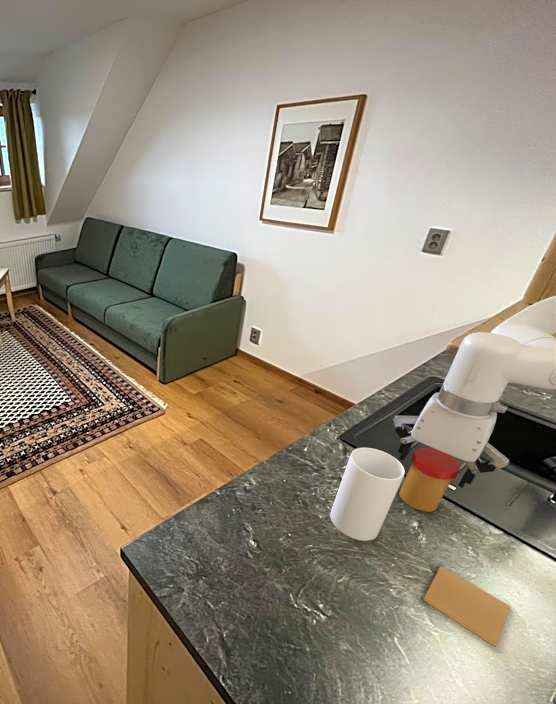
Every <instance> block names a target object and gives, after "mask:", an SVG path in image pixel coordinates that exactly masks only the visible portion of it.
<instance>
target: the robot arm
mask: <svg viewBox="0 0 556 704" xmlns="http://www.w3.org/2000/svg"><path fill="white" fill-rule="evenodd" d="M554 334H556V295H553V296H550V297H547V298H544V299H541V300H539V301H537V302H535V303H533V304H531V305H528V306H527V307H525V308H523V309H522V310H520V311H518V312H516V313H515V314H513V315H512V316H510V317H509V318H507V319H505V320H503V321H502V322H501V323H500V324H498V325H497V326H495V327H494V328H493V329H492V330H491V331H490V332H486V331H478V332H472V333H470V334H468V335H466V336H465V337H464V338H463V339H462V341H461V343H460V345H459V348H458V350H457V352H456V354H455V357H454V358H453V361H452V363H451V365H450V368H449V370H448V372H447V374H446V376H445V379H444V381H443V383H442V385H441V388H440V390H439V392H435V393H433V394H432V396H431V397H430V398H429V399H428V401H427V402H426V403H425V406H424V407H423V408H422V410H421V412H420V414H419V415H398V414H397V415H394V417H393V418H392V422H393V425H394V428H395V432H396V434H397V436H398V437H399V439H400V440H399V441H400V442H401V443H400V445H399V447H398V450H397V453H399V454H400V455H399V458H398V460H400V461H404V460H405V458H407V456H408V455H409V453H410V450H411V448H412V446H413V444H414V442H418V443H420V444H423V445H425V446H427V447H429V448H433V449H437V450H439V451H442V452H444V453H446V454H449V455H450V456H452V457H453V458H455V459H459V460H461V461H464V463H465V464H466V465H467V468H466V470H465V472H464V474H463V475H462V477H461V479H460V481H459V482H458V485H457V486H458V487H459V488H461V489H463V488H464V486H465V485H466V484H467V485H472V483H473V482H474V480H475V477H476V476H477V475H479V474H484V473H493V472H495V471H496V470H500V469H503V468H505V467H507V466H508V465H509V463H510V459H509V458H508V457H506V456H505V455H504V454H503V453H501V452H500V451H499V450H498V449H497V448H495V447H494V446H493V445H492V444H491V443H489V440H490V437H491V435H492V433H493V432H494V429H495V425H496V422H497V417H498V414H497V413H500V414H505V413H506V411H507V410H508V408H509V406H507V405H504V404H503V403H501V401H500V399H501V396H502V395H503V392H504V391H505V389H506V387H507V385H508V384H517V385H521V386H528V387H531V388H536V389H543V390H552V391H553V390H555V391H556V336H553V335H554ZM406 424H407V425H413V428H412V430H411V431H408V429H407V428H406V426H405V425H406ZM482 453H485V455H487V456H488V457H489V458H490V459H492V460H489V461H482V460H481V458H480V456H481V454H482Z"/></svg>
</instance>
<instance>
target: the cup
mask: <svg viewBox="0 0 556 704" xmlns="http://www.w3.org/2000/svg"><path fill="white" fill-rule="evenodd" d="M405 473H406V472H405V467H404V466H403V464H402V463H401V462H400V461H399V459H397V458H396V457H395V456H392V455H391V454H389V453H387V452H385V451H383V450H379V449H377V448H372V447H357V448H355V449H353V451H351V453H350V455H349V458H348V460H347V463H346V466H345V469H344V472H343V475H342V478H341V481H340V484H339V487H338V489H337V493H336V496H335V498H334V501H333V504H332V507H331V510H330V514H329V518H330V521H331V522H332V525H334V527H335V528H336V529H337V530H338V531H339V532H341V533H342V534H343V535H345V536H347V537H349V538H351V539H353V540H357V541H364V542H368V541H369V542H370V541H373V540H374V539H376V538H377V537H378V535H379V534H380V531H381V529H382V526H383V524H384V522H385V519H386V517H387V515H388V513H389V511H390V509H391V506H392V503H393V502H394V499H395V497H396V496H397V495H396V494H397V492H398V490H399V489H400V487H401V486H400V485H402V481H403V480H404V476H405Z"/></svg>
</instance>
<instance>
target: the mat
mask: <svg viewBox="0 0 556 704" xmlns="http://www.w3.org/2000/svg"><path fill="white" fill-rule="evenodd" d="M422 601H423V602H425V603H427V604H428V605H429V606H431V607H432V608H434V609H436V610H437V611H439V612H440V613H441V614H443V615H445V616H446V617H447V618H450V619H451V620H452V621H454V622H456V623H457V624H459V625H461V626H462V627H463V628H465V629H467V630H469V631H470V632H471V633H473V634H474V635H476V636H478V637H479V638H480V639H482V640H484V642H487V643H488V644H490V645H491V646H493V647H494V648H496V647H497V645H498V642H499V640H500V636H501V634H502V631H503V628H504V625H505V622H506V619H507V616H508V613H509V611H510V608H511V605H509V604H507V603H506V602H504V601H502V600H500V599H499V598H497V597H496V596H493V595H492V594H490V593H488V592H487V591H485V590H484V589H482V588H480V587H478V586H476V585H474V584H473V583H471V582H469V581H468V580H466V579H464V578H463V577H461V576H459V575H458V574H456V573H454V572H452V571H450V570H449V569H448V568H445V567H443V566H442V565H440V567H439V568H438V569H437V572H436V574H435V576H434V578H433V579H432V581H431V583H430V585H429V587H428V589H427V591H426V592H425V594H424V597H423V599H422Z"/></svg>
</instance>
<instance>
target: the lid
mask: <svg viewBox="0 0 556 704" xmlns="http://www.w3.org/2000/svg"><path fill="white" fill-rule="evenodd" d="M410 460H411V464H412V463H413V465H414V466H415V467H416V468H417V469H418V470H419V471H421V472H422V473H424V474H426V475H428V476H430V477H433V478H436V479H441V480H451V479H452V480H453V479H454V480H455V478H456V477H457V476H458V474H459V472H460V470H461V465H460V463H459V461H458V460H457V458H455V457H454V456H451V455H449V454H446V453H444V452H442V451H439V450H437V449H434V448H432V447H419V448H417V449H415V450H414V452H413V454H412V456H411V458H410ZM452 480H451V481H452Z"/></svg>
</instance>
